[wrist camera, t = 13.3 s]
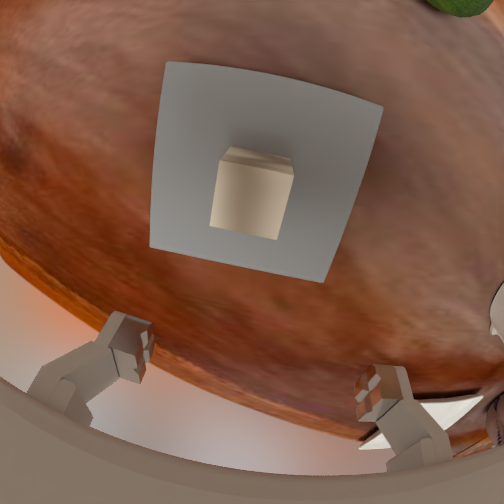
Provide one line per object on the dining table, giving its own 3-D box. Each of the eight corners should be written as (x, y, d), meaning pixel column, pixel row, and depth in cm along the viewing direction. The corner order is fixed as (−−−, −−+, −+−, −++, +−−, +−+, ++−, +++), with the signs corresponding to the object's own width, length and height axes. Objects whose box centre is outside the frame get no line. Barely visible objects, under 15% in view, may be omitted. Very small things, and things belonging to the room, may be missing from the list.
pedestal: (364, 102, 25) (384, 107, 20) (317, 252, 34) (323, 283, 29) (187, 65, 24) (166, 61, 19) (168, 221, 34) (149, 246, 29)
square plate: (355, 439, 65) (356, 451, 62) (409, 390, 51) (413, 405, 48) (426, 433, 66) (428, 443, 63) (481, 385, 52) (486, 397, 48)
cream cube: (290, 158, 23) (294, 175, 19) (276, 212, 26) (276, 240, 21) (230, 145, 23) (219, 160, 19) (221, 200, 25) (209, 226, 21)
